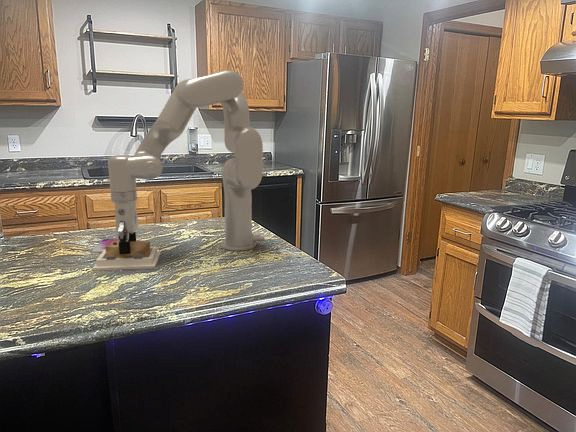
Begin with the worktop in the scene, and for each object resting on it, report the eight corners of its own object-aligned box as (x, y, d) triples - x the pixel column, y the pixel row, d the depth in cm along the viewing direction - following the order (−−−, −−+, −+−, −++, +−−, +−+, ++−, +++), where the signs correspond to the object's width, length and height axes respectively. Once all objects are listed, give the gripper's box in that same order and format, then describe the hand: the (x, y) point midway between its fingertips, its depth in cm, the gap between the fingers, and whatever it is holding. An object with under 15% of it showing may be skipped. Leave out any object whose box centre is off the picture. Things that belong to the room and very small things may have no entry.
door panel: (150, 256, 140) (149, 239, 138) (145, 262, 134) (144, 245, 133) (113, 256, 139) (111, 239, 138) (106, 262, 133) (105, 245, 132)
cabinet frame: (160, 253, 145) (160, 242, 144) (154, 268, 131) (154, 256, 130) (104, 255, 142) (103, 244, 141) (92, 270, 129) (91, 258, 128)
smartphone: (89, 252, 144) (103, 239, 158) (89, 254, 144) (103, 241, 158) (111, 251, 144) (123, 238, 159) (111, 253, 145) (123, 240, 159)
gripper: (131, 201, 124) (135, 257, 128) (141, 190, 140) (145, 240, 145) (104, 202, 123) (109, 258, 127) (117, 190, 139) (121, 241, 143)
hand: (128, 248), depth 136 cm, fingers open, 9 cm apart
